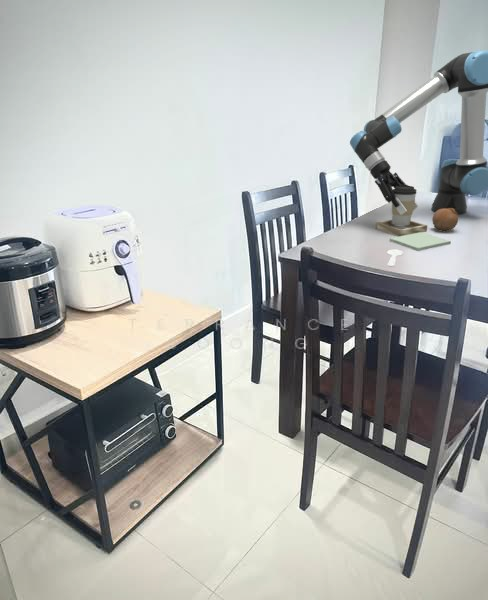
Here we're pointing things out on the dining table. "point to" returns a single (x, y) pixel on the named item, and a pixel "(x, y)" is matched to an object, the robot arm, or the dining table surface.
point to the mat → (420, 241)
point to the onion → (445, 219)
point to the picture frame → (413, 229)
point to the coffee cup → (407, 199)
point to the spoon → (393, 256)
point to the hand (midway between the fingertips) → (409, 210)
